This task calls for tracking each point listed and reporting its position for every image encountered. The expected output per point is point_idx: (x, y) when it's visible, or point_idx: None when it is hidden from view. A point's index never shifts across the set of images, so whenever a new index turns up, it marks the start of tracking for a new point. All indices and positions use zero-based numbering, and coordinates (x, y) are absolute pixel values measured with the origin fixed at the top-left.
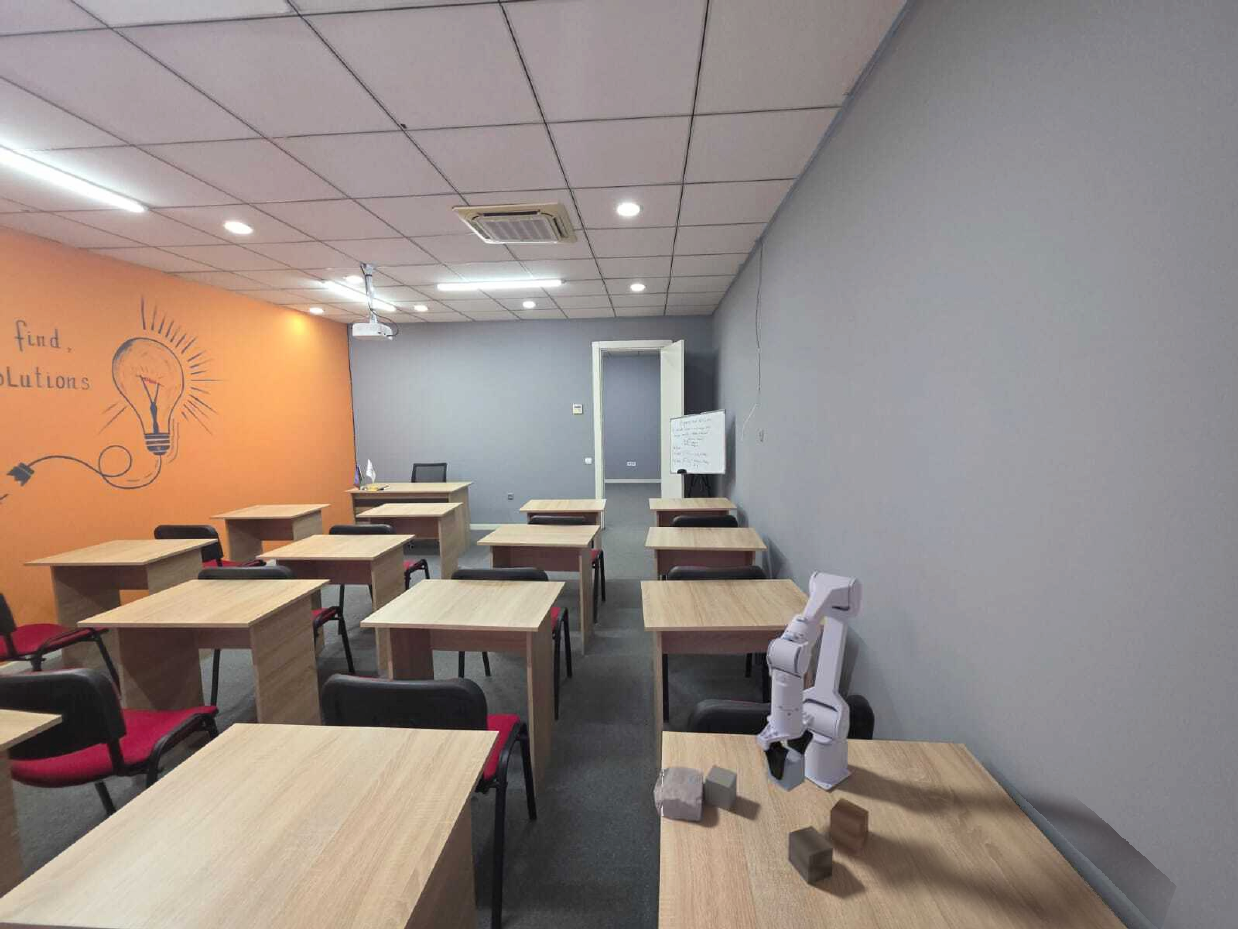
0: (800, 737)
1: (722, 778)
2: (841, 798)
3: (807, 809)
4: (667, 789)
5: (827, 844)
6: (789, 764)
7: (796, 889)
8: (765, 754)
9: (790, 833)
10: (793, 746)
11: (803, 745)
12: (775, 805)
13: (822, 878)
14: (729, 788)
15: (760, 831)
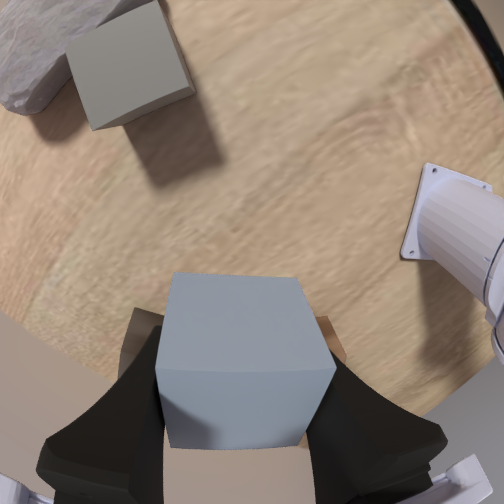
0: (328, 500)
1: (113, 75)
2: (341, 359)
3: (312, 256)
4: (8, 17)
5: None
6: (183, 446)
7: (102, 341)
8: (105, 394)
9: (122, 354)
10: (325, 419)
11: (315, 477)
12: (260, 194)
13: None
14: (97, 128)
15: (140, 225)
